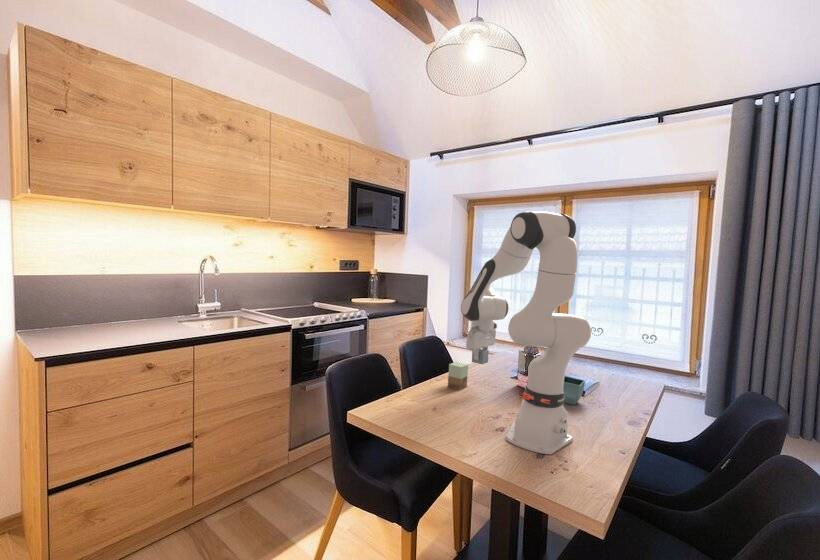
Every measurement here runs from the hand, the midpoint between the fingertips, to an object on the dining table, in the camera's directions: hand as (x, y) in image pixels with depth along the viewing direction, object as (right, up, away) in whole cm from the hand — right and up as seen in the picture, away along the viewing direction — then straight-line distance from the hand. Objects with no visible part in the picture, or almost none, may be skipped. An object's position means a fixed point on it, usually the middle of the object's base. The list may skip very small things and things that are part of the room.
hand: (480, 358), depth 158 cm
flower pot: (+35, -17, -5) cm, 39 cm away
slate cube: (0, -2, 0) cm, 2 cm away
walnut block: (-9, -14, +6) cm, 17 cm away
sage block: (-9, -9, +6) cm, 14 cm away
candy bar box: (+23, -15, +9) cm, 29 cm away
